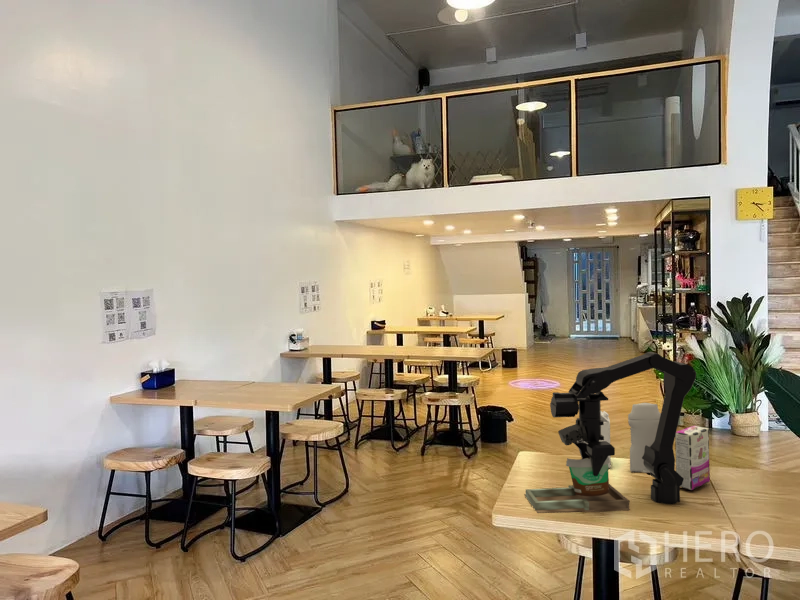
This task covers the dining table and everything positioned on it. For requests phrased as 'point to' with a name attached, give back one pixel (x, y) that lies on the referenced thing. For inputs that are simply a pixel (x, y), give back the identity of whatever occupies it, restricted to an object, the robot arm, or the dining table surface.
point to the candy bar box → (693, 456)
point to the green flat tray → (574, 500)
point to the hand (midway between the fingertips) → (590, 471)
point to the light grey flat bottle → (642, 432)
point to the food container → (588, 477)
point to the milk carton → (606, 430)
